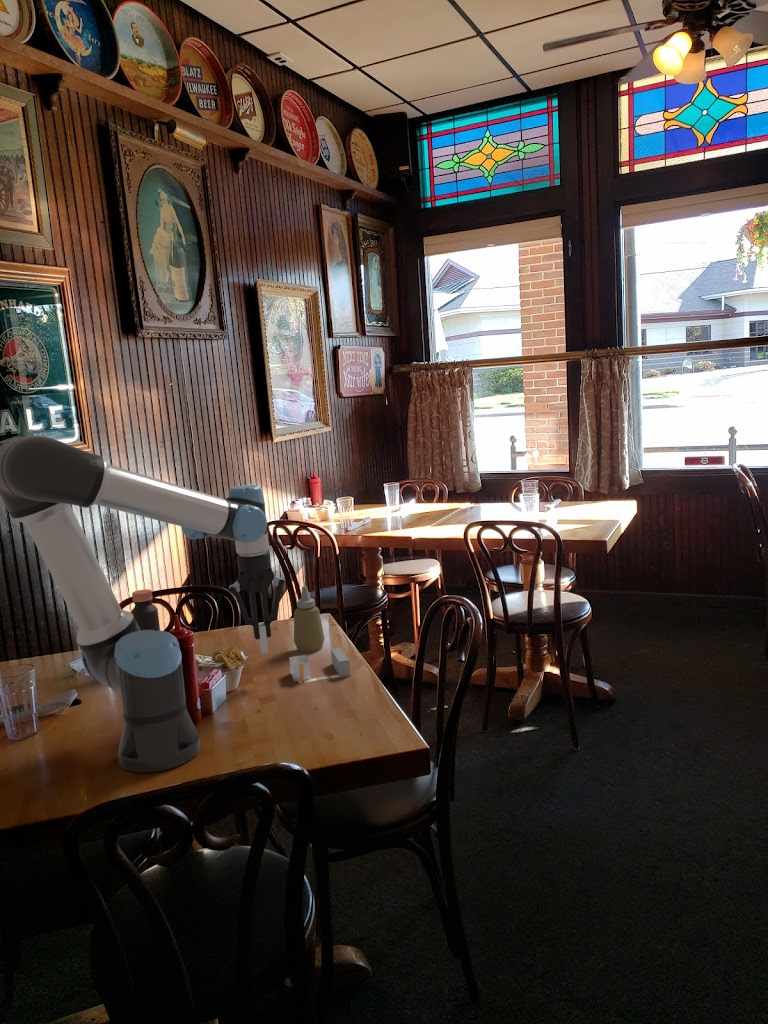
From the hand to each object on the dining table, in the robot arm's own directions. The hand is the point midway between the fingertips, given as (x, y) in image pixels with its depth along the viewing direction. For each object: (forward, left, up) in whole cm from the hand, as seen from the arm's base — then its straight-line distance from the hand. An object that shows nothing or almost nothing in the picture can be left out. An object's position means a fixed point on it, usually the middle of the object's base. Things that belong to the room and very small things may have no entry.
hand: (264, 651), depth 177 cm
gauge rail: (0, -11, -9) cm, 14 cm away
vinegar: (+30, +28, -9) cm, 42 cm away
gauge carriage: (0, -8, -7) cm, 11 cm away
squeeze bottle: (+20, -13, -9) cm, 25 cm away
